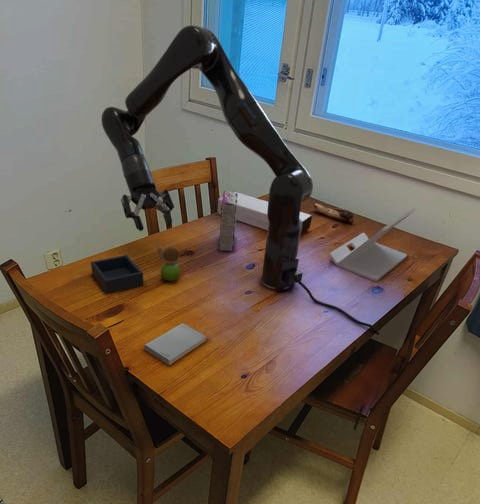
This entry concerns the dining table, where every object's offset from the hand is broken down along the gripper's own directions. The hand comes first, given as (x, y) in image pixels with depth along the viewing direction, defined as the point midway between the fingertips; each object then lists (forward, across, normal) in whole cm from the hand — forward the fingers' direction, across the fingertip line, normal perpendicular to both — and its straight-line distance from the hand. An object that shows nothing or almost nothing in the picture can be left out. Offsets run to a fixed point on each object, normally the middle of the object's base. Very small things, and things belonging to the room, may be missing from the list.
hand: (155, 227), depth 131 cm
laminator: (-1, +50, +20) cm, 54 cm away
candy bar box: (+6, +28, +13) cm, 31 cm away
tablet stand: (+26, +67, -8) cm, 72 cm away
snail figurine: (+15, 0, +3) cm, 15 cm away
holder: (+11, -13, +8) cm, 18 cm away
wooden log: (+3, +82, +16) cm, 83 cm away
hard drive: (+35, -12, -16) cm, 40 cm away
